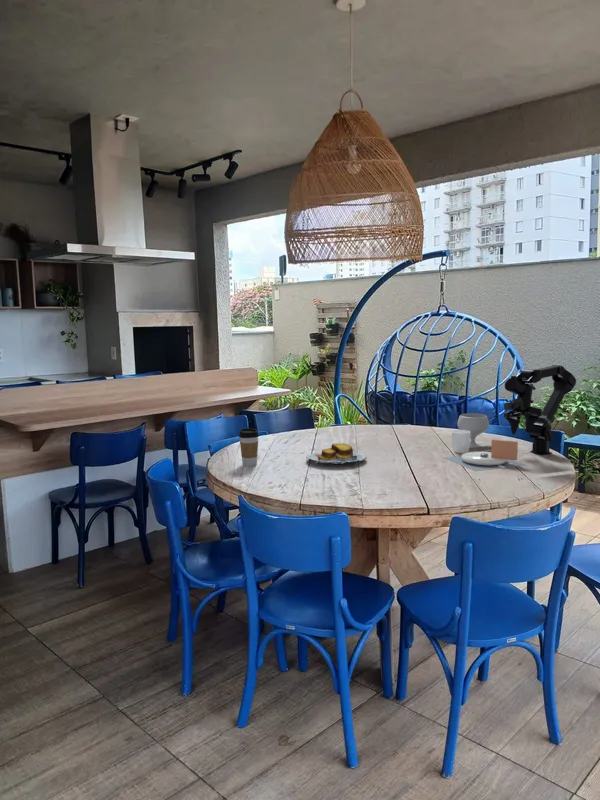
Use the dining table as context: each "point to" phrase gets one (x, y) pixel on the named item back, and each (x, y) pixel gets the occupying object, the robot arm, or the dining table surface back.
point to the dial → (493, 454)
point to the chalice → (473, 426)
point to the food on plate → (337, 455)
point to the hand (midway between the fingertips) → (520, 433)
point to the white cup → (461, 441)
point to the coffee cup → (249, 446)
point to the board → (484, 467)
